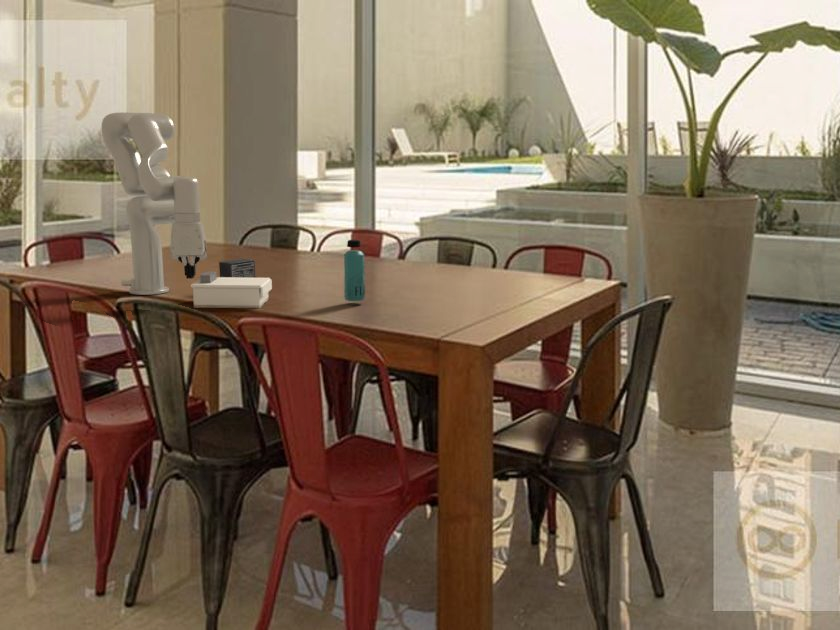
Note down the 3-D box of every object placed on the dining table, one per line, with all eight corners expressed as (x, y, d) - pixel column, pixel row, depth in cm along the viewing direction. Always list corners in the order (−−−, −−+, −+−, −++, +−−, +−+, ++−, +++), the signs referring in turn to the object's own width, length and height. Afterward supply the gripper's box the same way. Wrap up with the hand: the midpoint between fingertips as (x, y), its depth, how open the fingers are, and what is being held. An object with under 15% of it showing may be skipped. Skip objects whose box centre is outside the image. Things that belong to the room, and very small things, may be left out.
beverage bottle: (354, 306, 272) (354, 241, 268) (339, 304, 276) (338, 239, 272) (369, 303, 276) (369, 239, 272) (354, 301, 281) (354, 238, 277)
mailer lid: (191, 296, 268) (190, 276, 267) (204, 288, 283) (203, 269, 282) (262, 296, 268) (262, 277, 266) (271, 288, 282) (271, 270, 281)
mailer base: (193, 307, 269) (193, 287, 268) (205, 299, 283) (205, 280, 282) (259, 308, 269) (259, 288, 268) (268, 299, 283) (267, 281, 281)
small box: (244, 288, 304) (243, 257, 302) (256, 290, 300) (255, 259, 298) (219, 292, 296) (218, 261, 293) (232, 294, 292) (230, 263, 289)
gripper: (159, 219, 268) (162, 279, 271) (208, 219, 267) (211, 280, 271) (166, 217, 275) (169, 276, 278) (215, 217, 275) (217, 276, 278)
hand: (190, 277), depth 275 cm, fingers closed
